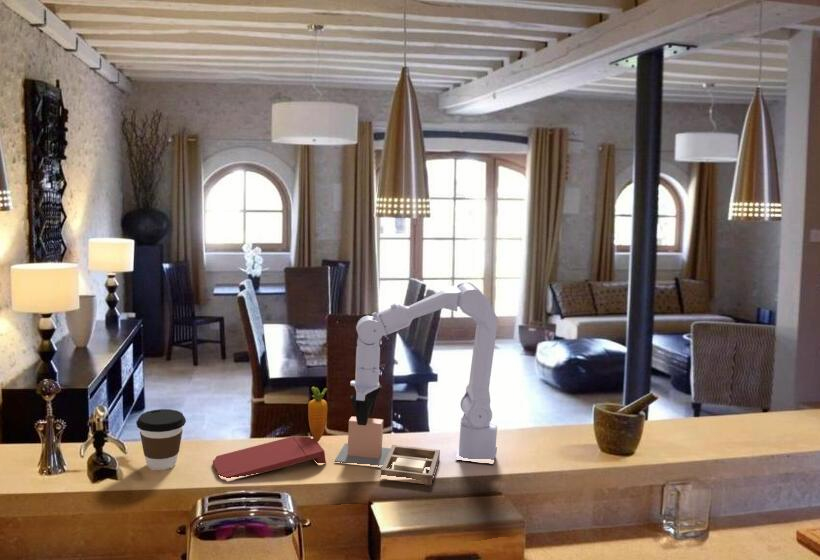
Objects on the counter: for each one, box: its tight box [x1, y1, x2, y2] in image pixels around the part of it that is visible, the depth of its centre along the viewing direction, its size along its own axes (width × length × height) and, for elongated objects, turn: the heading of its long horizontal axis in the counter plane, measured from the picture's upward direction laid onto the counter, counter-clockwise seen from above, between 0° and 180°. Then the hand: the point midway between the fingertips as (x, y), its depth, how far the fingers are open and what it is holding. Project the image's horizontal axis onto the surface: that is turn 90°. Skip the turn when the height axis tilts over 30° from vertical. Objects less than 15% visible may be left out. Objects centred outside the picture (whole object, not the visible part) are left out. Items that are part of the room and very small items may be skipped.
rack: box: [380, 444, 441, 487], centre depth 188 cm, size 12×15×2 cm
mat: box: [334, 442, 391, 466], centre depth 193 cm, size 12×11×1 cm
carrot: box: [307, 386, 328, 443], centre depth 199 cm, size 5×5×15 cm
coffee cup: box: [135, 408, 187, 471], centre depth 182 cm, size 11×11×12 cm
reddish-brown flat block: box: [212, 435, 327, 478], centre depth 186 cm, size 12×5×25 cm
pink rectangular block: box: [347, 416, 384, 459], centre depth 193 cm, size 8×3×9 cm, turn 82°
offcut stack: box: [391, 457, 426, 473], centre depth 184 cm, size 8×5×4 cm, turn 84°
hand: (365, 419), depth 192 cm, fingers open, 7 cm apart
